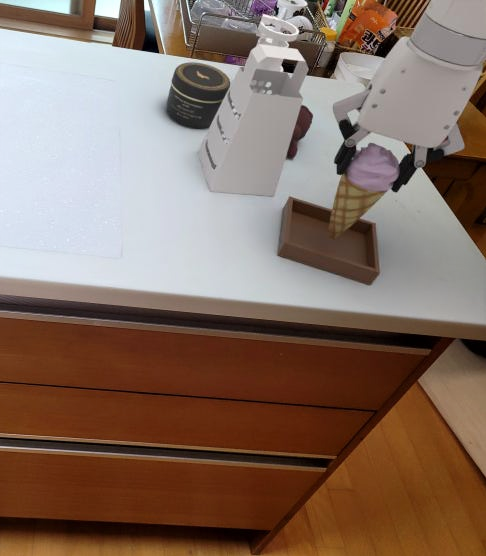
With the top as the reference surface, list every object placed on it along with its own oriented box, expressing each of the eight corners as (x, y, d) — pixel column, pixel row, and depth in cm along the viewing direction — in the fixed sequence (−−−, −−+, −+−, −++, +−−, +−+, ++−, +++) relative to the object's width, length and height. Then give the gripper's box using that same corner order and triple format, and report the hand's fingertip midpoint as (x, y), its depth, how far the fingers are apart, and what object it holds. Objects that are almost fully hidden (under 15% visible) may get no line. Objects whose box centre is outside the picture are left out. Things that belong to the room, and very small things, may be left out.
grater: (197, 151, 91) (236, 30, 76) (256, 157, 93) (305, 40, 78) (210, 191, 84) (256, 66, 69) (274, 196, 86) (331, 76, 71)
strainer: (237, 84, 110) (264, 7, 99) (271, 94, 110) (302, 18, 99) (233, 100, 105) (261, 21, 95) (269, 110, 105) (301, 32, 94)
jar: (210, 137, 95) (224, 97, 89) (156, 117, 96) (167, 77, 90) (223, 112, 101) (237, 73, 96) (173, 94, 103) (184, 55, 97)
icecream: (270, 80, 99) (272, 129, 90) (313, 80, 98) (320, 129, 88) (266, 114, 104) (267, 163, 95) (306, 114, 103) (312, 164, 94)
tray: (367, 235, 83) (375, 223, 81) (370, 285, 75) (380, 273, 73) (282, 208, 84) (289, 196, 82) (277, 255, 76) (284, 242, 74)
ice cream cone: (300, 221, 79) (348, 130, 68) (333, 215, 81) (384, 126, 70) (329, 253, 75) (385, 162, 64) (362, 246, 77) (422, 156, 66)
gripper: (523, 50, 60) (428, 182, 73) (368, 6, 61) (301, 143, 74) (541, 79, 55) (435, 215, 68) (371, 30, 56) (299, 173, 69)
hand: (366, 176), depth 71 cm, fingers closed on ice cream cone, 6 cm apart
